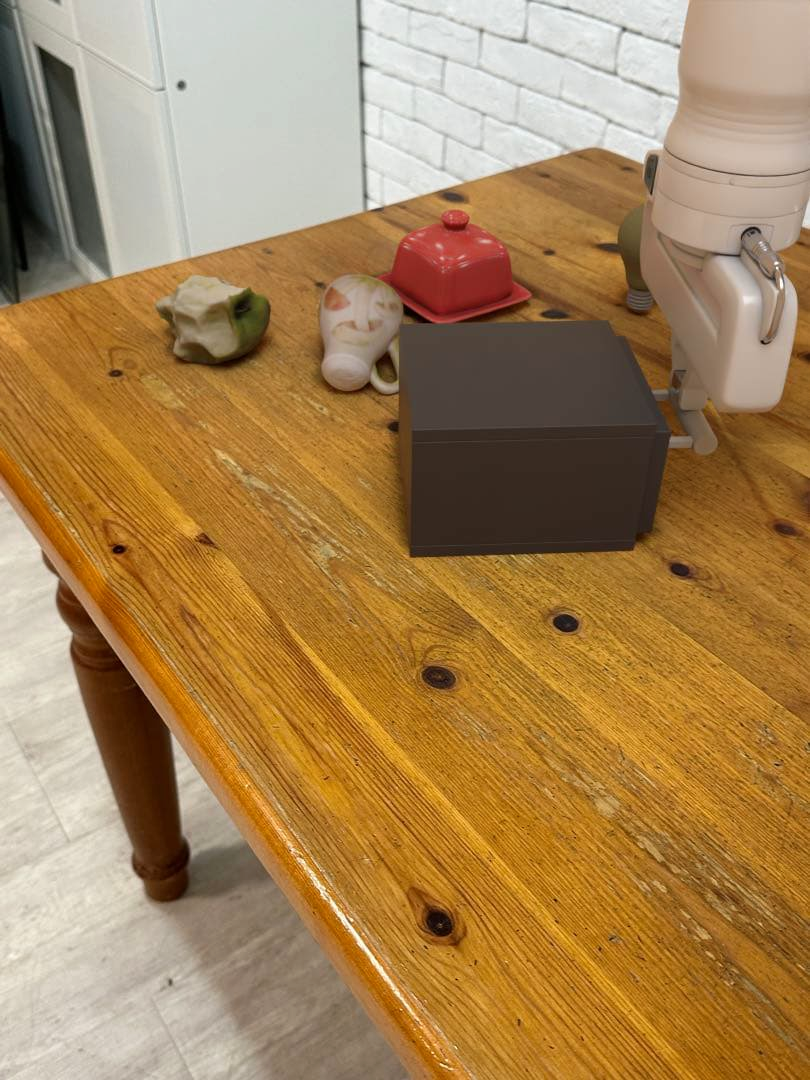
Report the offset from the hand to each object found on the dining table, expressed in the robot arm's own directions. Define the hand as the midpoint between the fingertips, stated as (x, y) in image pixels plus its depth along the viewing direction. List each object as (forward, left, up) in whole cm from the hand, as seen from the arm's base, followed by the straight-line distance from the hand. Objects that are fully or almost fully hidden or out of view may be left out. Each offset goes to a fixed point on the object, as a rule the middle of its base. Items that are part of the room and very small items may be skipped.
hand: (686, 400), depth 71 cm
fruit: (+34, -21, -7) cm, 40 cm away
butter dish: (+13, -30, -7) cm, 33 cm away
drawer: (+8, +1, -6) cm, 10 cm away
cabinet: (+12, +1, -7) cm, 14 cm away
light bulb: (-4, -27, -7) cm, 28 cm away
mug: (+22, -17, -7) cm, 29 cm away
